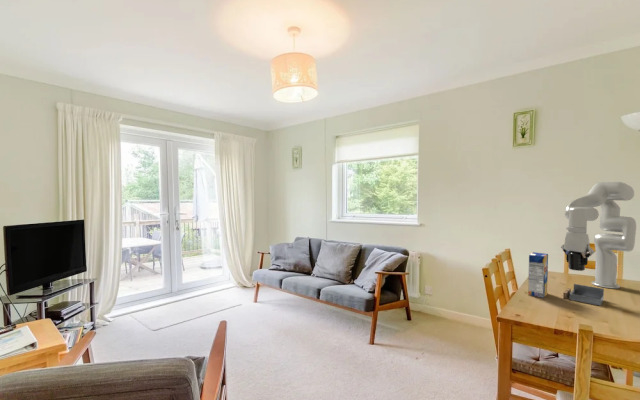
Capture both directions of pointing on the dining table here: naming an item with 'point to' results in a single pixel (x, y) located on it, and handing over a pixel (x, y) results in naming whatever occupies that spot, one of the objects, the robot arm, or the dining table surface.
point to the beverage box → (538, 274)
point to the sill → (566, 293)
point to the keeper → (587, 294)
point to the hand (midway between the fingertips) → (576, 263)
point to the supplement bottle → (575, 261)
